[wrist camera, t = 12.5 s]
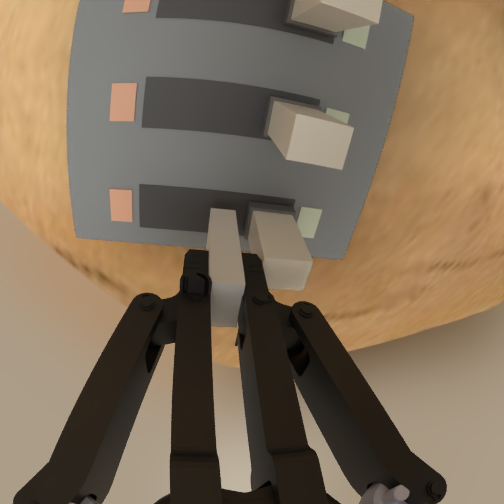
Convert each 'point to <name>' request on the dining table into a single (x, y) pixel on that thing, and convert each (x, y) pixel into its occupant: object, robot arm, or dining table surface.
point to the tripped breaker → (278, 245)
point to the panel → (219, 117)
